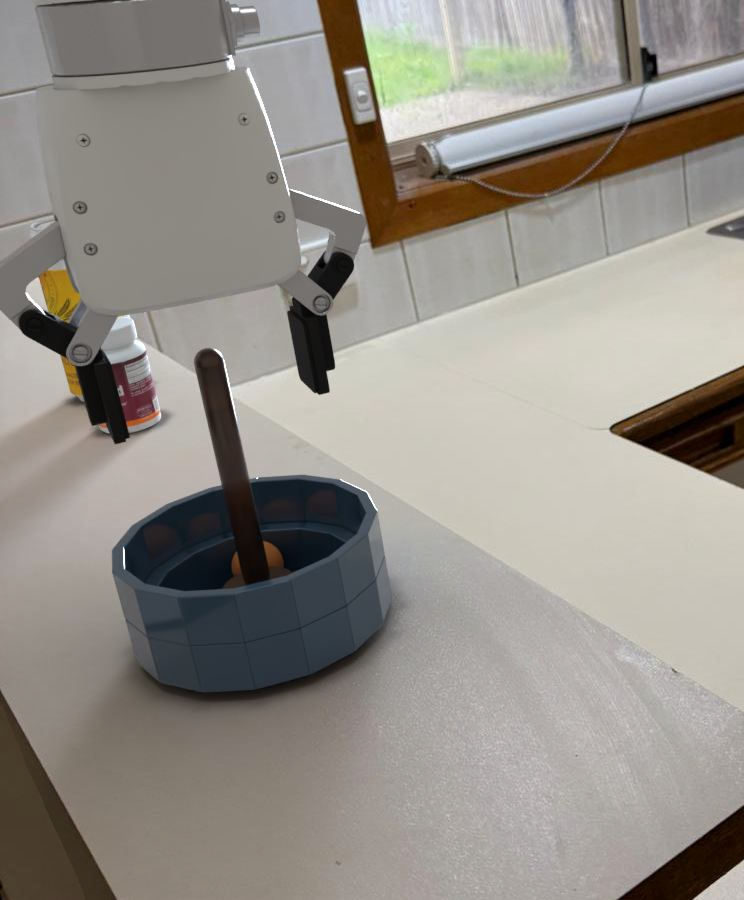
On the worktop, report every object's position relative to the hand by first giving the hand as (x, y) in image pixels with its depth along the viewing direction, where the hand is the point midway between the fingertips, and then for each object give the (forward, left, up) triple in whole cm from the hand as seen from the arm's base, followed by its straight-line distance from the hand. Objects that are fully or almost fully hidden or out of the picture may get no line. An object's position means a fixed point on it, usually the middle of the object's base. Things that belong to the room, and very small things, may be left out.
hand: (220, 409), depth 56 cm
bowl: (0, 0, -13) cm, 13 cm away
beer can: (-25, +40, -13) cm, 49 cm away
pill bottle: (-20, +32, -13) cm, 40 cm away
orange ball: (-1, +3, -11) cm, 11 cm away
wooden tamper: (0, 0, -12) cm, 12 cm away
